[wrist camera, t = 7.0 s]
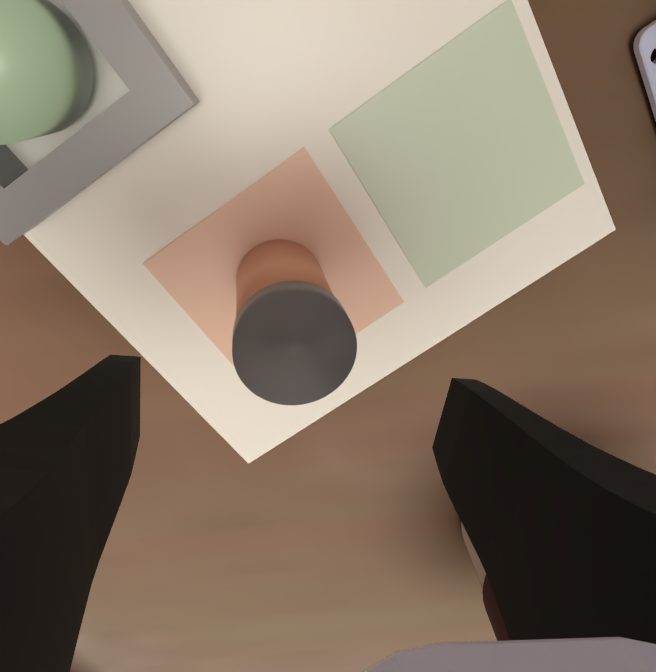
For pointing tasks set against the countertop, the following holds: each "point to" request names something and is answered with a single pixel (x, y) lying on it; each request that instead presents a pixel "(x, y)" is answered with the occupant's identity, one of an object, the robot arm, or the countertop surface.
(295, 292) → the cylinder
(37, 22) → the button
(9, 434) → the robot arm
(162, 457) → the countertop surface
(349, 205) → the white sorting board
